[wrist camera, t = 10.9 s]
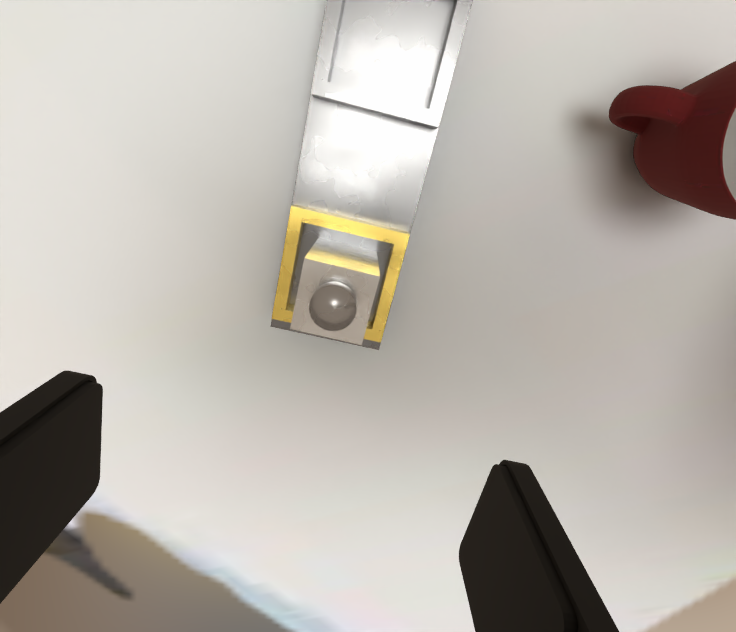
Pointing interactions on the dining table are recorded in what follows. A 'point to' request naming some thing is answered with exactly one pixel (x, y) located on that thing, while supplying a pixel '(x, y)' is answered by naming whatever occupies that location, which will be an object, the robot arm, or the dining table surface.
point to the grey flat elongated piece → (370, 137)
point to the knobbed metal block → (336, 291)
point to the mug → (685, 139)
